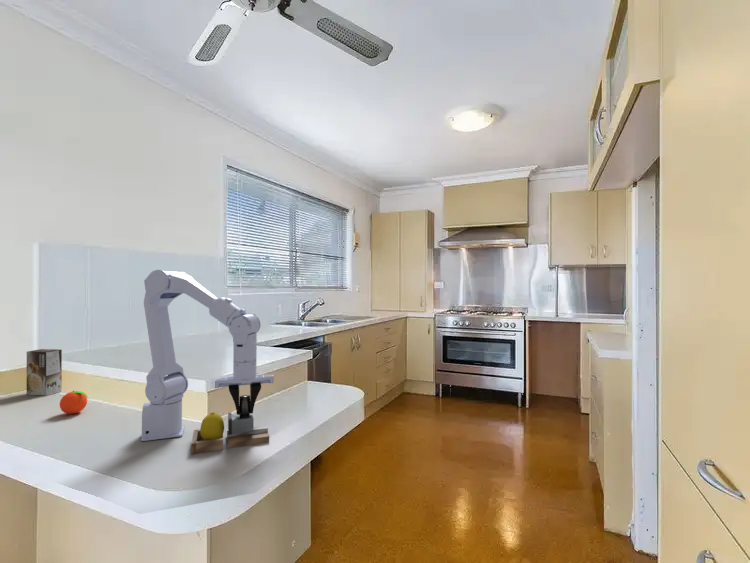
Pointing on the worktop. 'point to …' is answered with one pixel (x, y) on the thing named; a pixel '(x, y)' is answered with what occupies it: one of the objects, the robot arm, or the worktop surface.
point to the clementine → (73, 402)
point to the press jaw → (241, 417)
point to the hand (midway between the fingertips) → (244, 413)
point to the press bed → (248, 437)
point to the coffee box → (44, 371)
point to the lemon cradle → (205, 444)
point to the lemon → (212, 427)
